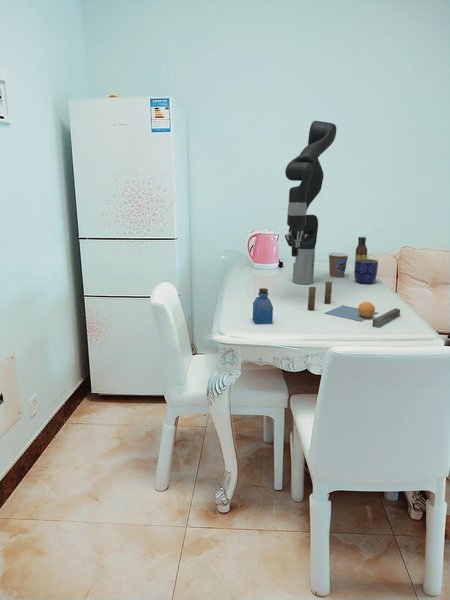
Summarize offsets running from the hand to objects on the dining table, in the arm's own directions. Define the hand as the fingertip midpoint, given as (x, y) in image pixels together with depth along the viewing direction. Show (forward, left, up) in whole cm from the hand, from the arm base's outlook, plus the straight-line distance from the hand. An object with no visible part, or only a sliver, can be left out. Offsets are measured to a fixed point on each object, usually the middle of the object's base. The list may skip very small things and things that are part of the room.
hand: (294, 256), depth 191 cm
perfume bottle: (+8, -32, -19) cm, 38 cm away
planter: (+7, +55, -19) cm, 59 cm away
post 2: (+13, +7, -19) cm, 24 cm away
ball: (+33, -1, -16) cm, 37 cm away
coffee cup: (-10, +58, -19) cm, 62 cm away
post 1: (+13, -7, -19) cm, 24 cm away
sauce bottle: (-5, +75, -19) cm, 78 cm away
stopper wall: (+41, 0, -19) cm, 45 cm away
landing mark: (+27, 0, -19) cm, 33 cm away
